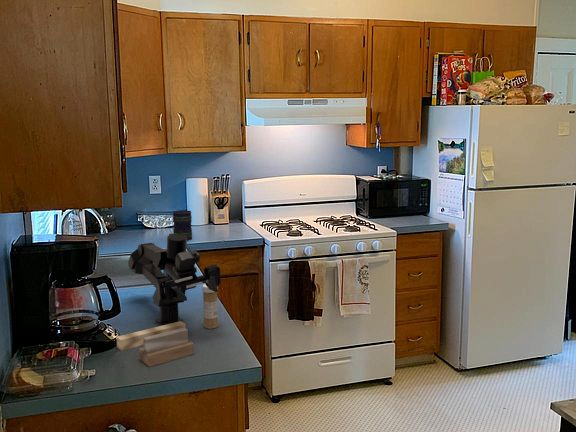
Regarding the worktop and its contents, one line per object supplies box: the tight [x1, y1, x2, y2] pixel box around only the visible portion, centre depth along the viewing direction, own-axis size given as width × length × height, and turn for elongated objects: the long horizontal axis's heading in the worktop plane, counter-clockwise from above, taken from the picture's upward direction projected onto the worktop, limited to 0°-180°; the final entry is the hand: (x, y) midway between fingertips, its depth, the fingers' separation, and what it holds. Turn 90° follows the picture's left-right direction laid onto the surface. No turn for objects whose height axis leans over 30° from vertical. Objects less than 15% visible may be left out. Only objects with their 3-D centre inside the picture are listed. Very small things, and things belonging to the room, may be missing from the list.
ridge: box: [138, 328, 195, 368], centre depth 152 cm, size 6×13×6 cm, turn 129°
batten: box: [116, 321, 187, 352], centre depth 164 cm, size 20×3×4 cm, turn 128°
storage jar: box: [172, 209, 193, 242], centre depth 302 cm, size 10×10×15 cm
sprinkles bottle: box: [201, 283, 219, 330], centre depth 174 cm, size 5×5×13 cm
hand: (201, 294), depth 156 cm, fingers open, 9 cm apart
